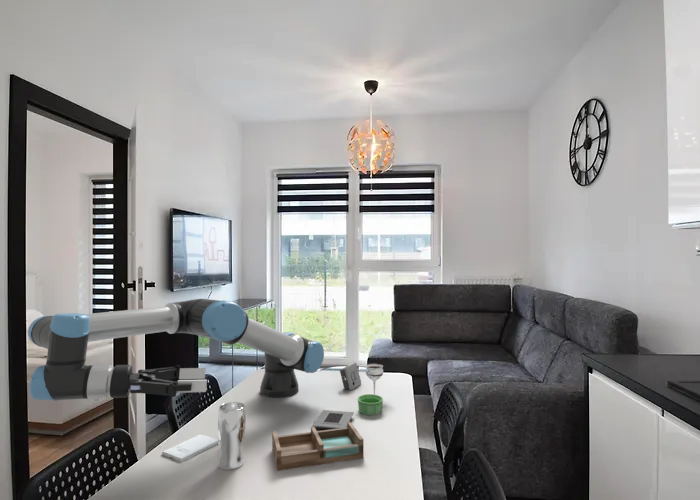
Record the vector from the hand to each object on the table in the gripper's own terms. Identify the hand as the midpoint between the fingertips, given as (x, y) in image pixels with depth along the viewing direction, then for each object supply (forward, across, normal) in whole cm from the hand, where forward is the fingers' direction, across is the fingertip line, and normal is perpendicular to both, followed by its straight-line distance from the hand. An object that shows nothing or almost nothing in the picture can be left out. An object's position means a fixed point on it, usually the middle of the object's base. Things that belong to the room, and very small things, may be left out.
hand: (206, 379), depth 104 cm
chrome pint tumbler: (+8, -1, -22) cm, 24 cm away
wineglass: (+63, -33, -16) cm, 73 cm away
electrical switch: (+59, -48, -16) cm, 78 cm away
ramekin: (+57, -22, -18) cm, 63 cm away
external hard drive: (-2, -14, -23) cm, 27 cm away
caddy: (+31, +2, -20) cm, 37 cm away
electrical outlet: (+41, -16, -19) cm, 48 cm away
